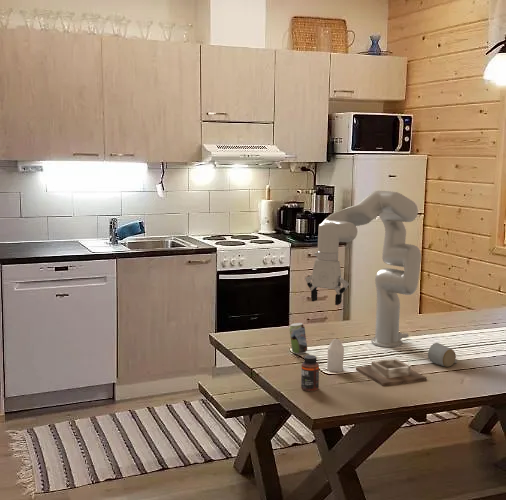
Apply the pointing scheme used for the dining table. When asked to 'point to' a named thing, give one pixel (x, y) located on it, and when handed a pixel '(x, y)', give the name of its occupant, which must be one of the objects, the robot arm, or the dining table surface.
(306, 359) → the supplement bottle
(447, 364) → the ceramic mug
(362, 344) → the dining table surface
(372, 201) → the robot arm
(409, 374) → the stand
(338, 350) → the roll
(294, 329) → the beverage can
